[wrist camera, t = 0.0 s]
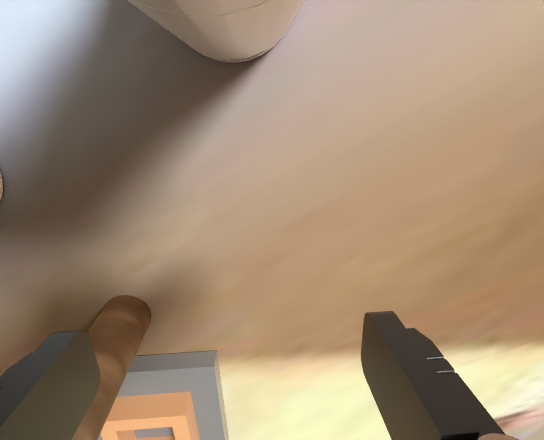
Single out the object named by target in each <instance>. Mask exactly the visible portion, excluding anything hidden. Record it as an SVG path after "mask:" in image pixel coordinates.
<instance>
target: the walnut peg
mask: <svg viewBox="0 0 544 440" xmlns="http://www.w3.org/2000/svg"><path fill="white" fill-rule="evenodd" d="M150 321H151V311H150V309H149V307H148V305H147V304H146V303H145V302H143V301H142V300H140V299H138V298H136V297H133V296H127V295H123V296H117V297H114V298H112V299H111V300H109V301H108V303H107V304H106V305H105V307H104V308H103V310H102V311H101V313H100V314H99V315H98V317H97V318H96V320H95V321H94V323H93V324H92V326H91V327H90V329H89V330H88V331H87V332H88V333H89V335H90V339H91V342H92V345H93V349H94V352H95V356H96V359H97V363H98V366H99V370H100V385H99V389H98V392H97V394H96V396H95V398H94V400H93V402H92V404H91V405H90V407H89V409H88V411H87V412H86V414H85V416H84V418H83V420H82V421H81V423H80V425H79V427H78V428H77V430H76V432H75V434H74V436H73V437H72V439H71V440H98V437H99V435H100V433H101V431H102V429H103V426H104V424H105V422H106V420H107V417H108V415H109V413H110V411H111V408H112V406H113V404H114V402H115V399H116V397H117V395H118V393H119V390H120V388H121V386H122V384H123V381H124V379H125V377H126V375H127V372H128V370H129V368H130V366H131V363H132V361H133V359H134V357H135V354H136V352H137V350H138V348H139V345H140V343H141V341H142V339H143V337H144V334H145V332H146V330H147V328H148V325H149V323H150Z"/></svg>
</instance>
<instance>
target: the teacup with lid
mask: <svg viewBox="0 0 544 440" xmlns="http://www.w3.org/2000/svg"><path fill="white" fill-rule="evenodd" d="M2 193H3V181H2V176H1V172H0V200H1V197H2Z"/></svg>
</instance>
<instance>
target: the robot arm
mask: <svg viewBox="0 0 544 440" xmlns="http://www.w3.org/2000/svg"><path fill="white" fill-rule="evenodd" d="M127 1H129V2H130V3H131V4H133V5H134V6H135V7H137V8H138V9H140V10H141V11H142V12H144V13H145V14H146V15H148V16H149V17H150V18H152V19H153V20H154V21H156V22H157V23H159V24H160V25H161V26H163V27H164V28H165V29H167V30H168V31H169V32H171V33H172V34H174V35H175V36H176V37H178V38H179V39H180V40H182V41H183V42H184V43H186V44H187V45H189V46H190V47H191V48H193V49H194V50H196V51H198V53H200V54H202V55H204V56H206V57H208V58H211V59H214V60H217V61H220V62H230V63H237V62H244V61H249V60H252V59H254V58H257V57H259V56H262V55H263V54H264V53H266V52H267V51H269V50H270V49H271V48H273V47H274V46H275V45H276V44H277V43H278V41H279V40H280V39H281V38H282V37H283V36H284V34H285V32H286V31H287V29H288V27H289V26H290V24H291V22H292V21H293V19H294V18H295V16H296V15H297V13H298V11H299V9H300V7H301V6H302V4H303V2H304V0H127ZM361 362H362V368H363V372H364V375H365V378H366V380H367V383H368V385H369V387H370V390H371V392H372V394H373V397H374V399H375V401H376V404H377V406H378V408H379V411H380V413H381V415H382V418H383V420H384V423H385V425H386V427H387V430H388V432H389V434H390V437H391V439H392V440H519V439H517V438H514V437H511V436H508V435H506V434H505V433H504V432H503V431H502V430H501V428H500V427H499V426H498V424H497V423H496V422H495V421H494V419H493V418H492V417H491V416H490V414H489V413H488V412H487V411H486V409H485V408H484V407H483V405H482V404H481V403H480V402H479V400H478V399H477V398H476V397H475V395H474V394H473V393H472V392H471V390H470V389H469V388H468V386H467V385H466V384H465V383H464V381H463V380H462V379H461V378H460V376H459V375H458V374H457V373H455V372H454V369H453V367H452V366H451V365H450V364H449V362H448V361H447V360H446V359H444V356H443V355H442V353H441V352H440V351H439V350H438V348H437V347H436V346H435V345H434V343H433V342H432V341H431V340H430V339H428V338H427V337H426V336H424V335H423V334H422V333H420V332H419V331H417V330H416V329H415V328H408V329H406V328H405V327H404V325H403V324H402V322H401V321H400V320H399V318H398V317H397V315H396V314H395V313H394V312H393V311H384V312H369V313H366V314H365V316H364V324H363V336H362V348H361ZM99 385H100V370H99V366H98V363H97V359H96V356H95V352H94V349H93V345H92V342H91V339H90V335H89V333H88V332H87V331H85V330H76V331H61V332H54V333H52V334H51V335H50V336H49V337H48V338H47V339H46V340H45V341H44V342H43V343H42V344H41V345H40V346H39V348H38V349H37V350H36V351H35V352H34V353H30V354H29V355H27V356H26V357H24V358H23V359H21V360H20V361H18V362H17V363H16V364H14V365H13V366H11V367H10V368H8V369H7V370H6V371H5V372H4V373H3V375H2V376H1V377H0V440H71V439H72V437H73V436H74V434H75V432H76V430H77V428H78V427H79V425H80V423H81V421H82V420H83V418H84V416H85V414H86V412H87V411H88V409H89V407H90V405H91V404H92V402H93V400H94V398H95V396H96V394H97V392H98V389H99Z"/></svg>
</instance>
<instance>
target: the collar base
mask: <svg viewBox="0 0 544 440" xmlns="http://www.w3.org/2000/svg"><path fill="white" fill-rule="evenodd" d="M98 440H229V438H228V431H227V424H226V416H225V409H224V402H223V394H222V387H221V380H220V372H219V365H218V358H217V351H203V352H188V353H173V354H158V355H144V356H135V357H134V359H133V361H132V363H131V366H130V368H129V370H128V372H127V375H126V377H125V379H124V381H123V384H122V386H121V388H120V390H119V393H118V395H117V397H116V399H115V402H114V404H113V406H112V408H111V411H110V413H109V415H108V417H107V420H106V422H105V424H104V426H103V429H102V431H101V433H100V435H99V437H98Z"/></svg>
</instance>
